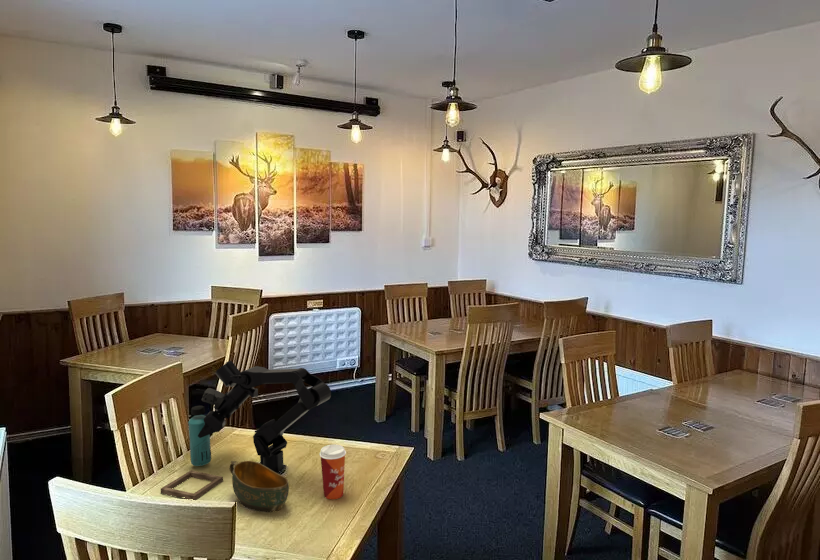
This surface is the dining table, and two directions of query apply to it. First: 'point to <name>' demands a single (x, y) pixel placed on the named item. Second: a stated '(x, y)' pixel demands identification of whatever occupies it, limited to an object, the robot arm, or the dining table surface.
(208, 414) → the robot arm
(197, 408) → the beverage bottle
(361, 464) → the dining table surface
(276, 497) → the green bowl
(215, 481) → the walnut collar
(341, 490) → the paper cup
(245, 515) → the dining table surface
